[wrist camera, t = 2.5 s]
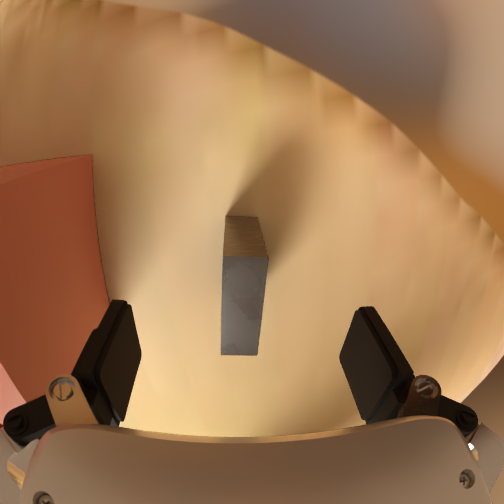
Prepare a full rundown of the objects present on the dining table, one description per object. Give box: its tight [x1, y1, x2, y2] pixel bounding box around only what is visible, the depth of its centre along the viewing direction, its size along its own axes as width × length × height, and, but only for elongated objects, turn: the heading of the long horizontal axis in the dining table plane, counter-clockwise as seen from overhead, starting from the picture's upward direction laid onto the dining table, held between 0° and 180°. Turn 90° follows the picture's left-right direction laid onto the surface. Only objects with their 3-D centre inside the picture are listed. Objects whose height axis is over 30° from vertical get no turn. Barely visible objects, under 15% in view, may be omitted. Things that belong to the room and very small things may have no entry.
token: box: [221, 216, 268, 355], centre depth 17 cm, size 6×2×6 cm, turn 176°
